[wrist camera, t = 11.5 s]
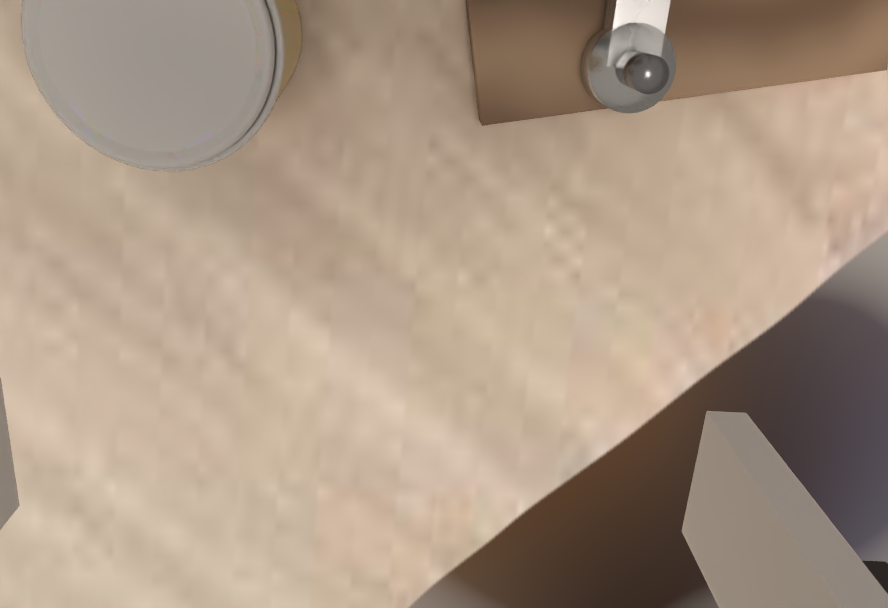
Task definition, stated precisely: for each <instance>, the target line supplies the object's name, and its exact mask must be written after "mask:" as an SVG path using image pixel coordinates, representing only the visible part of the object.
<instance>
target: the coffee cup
mask: <svg viewBox="0 0 888 608" xmlns="http://www.w3.org/2000/svg"><path fill="white" fill-rule="evenodd" d="M21 24H22V39H23V44H24V50H25V54H26V58H27V62H28V65H29V68H30V70H31V73H32V75H33V78H34V80H35V82H36V84H37V86H38V88H39V91H40V92H41V94H42V95H43V97H44V98H45V100H46V101H47V103H48V104H49V106H50V107H51V108H52V110H53V111H54V113H55V114H56V115H57V116H58V117H59V119H60V120H61V121H62V122H63V123H64V124H65V125H66V126H67V127H68V128H69V129H70V130H71V131H72V132H73V133H74V134H75V135H76V136H77V137H79V138H80V139H81V140H83V141H84V142H85V143H87V144H88V145H89V146H91V147H92V148H94V149H96V150H97V151H99V152H100V153H102V154H104V155H106V156H108V157H110V158H112V159H114V160H117V161H119V162H122V163H125V164H127V165H131V166H134V167H138V168H142V169H148V170H154V171H184V170H190V169H196V168H200V167H203V166H207V165H210V164H212V163H215V162H217V161H220V160H222V159H223V158H225V157H227V156H229V155H231V154H232V153H234V152H235V151H237V150H238V149H239V148H241V147H242V146H243V145H244V144H245V143H247V142H248V141H249V140H250V139H251V138H252V137H253V136H254V135H255V133H256V132H257V131H258V130H259V129H260V127H261V126H262V125H263V123H264V122H265V120H266V119H267V117H268V115H269V113H270V111H271V110H272V108H273V105H274V103H275V101H276V100H277V98H278V97H279V95H280V94H281V92H282V91H283V89H284V88H285V86H286V85H287V83H288V81H289V80H290V78H291V76H292V74H293V72H294V70H295V68H296V65H297V62H298V59H299V56H300V51H301V42H302V28H301V21H300V16H299V11H298V8H297V5H296V3H295V0H23V1H22V14H21Z"/></svg>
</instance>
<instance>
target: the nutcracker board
mask: <svg viewBox="0 0 888 608" xmlns="http://www.w3.org/2000/svg"><path fill="white" fill-rule="evenodd" d="M606 3H607V0H466V7H467V16H468V25H469V34H470V43H471V51H472V60H473V69H474V78H475V87H476V96H477V105H478V113H479V120H480V122H481V124H482V125H490V124H497V123H504V122H512V121H519V120H526V119H533V118H541V117H548V116H555V115H563V114H570V113H577V112H584V111H592V110H599V109H606V108H608V107H607V106H605V105H603V104H602V103H600V102H599V101H597V100H596V99H595V98H593V97H592V96H591V94H590V93H589V92H588V90H587V89H586V87H585V85H584V83H583V79H582V75H581V60H582V56H583V53H584V50H585V48H586V45H587V44H588V42H589V41H590V39H591V38H592V37H593V36H594V35H595V34H596V33H597V32H598V31H599V30H600V29H602V28H603V23H604V16H605V9H606ZM665 35H666V36H667V37H668V38H669V40H670V42H671V43H672V46H673V48H674V51H675V55H676V73H675V77H674V80H673V82H672V85H671V87H670V89H669V90H668V92H667V93H666V94H665V96H664V97H663V98H662V99H661V100H660V101H665V100H672V99H679V98H686V97H694V96H701V95H708V94H716V93H723V92H730V91H737V90H745V89H752V88H759V87H767V86H774V85H781V84H788V83H796V82H803V81H810V80H818V79H825V78H832V77H839V76H847V75H854V74H861V73H869V72H876V71H883V70H887V67H888V0H671V1H670V7H669V13H668V18H667V24H666V30H665Z"/></svg>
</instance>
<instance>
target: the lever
mask: <svg viewBox="0 0 888 608" xmlns="http://www.w3.org/2000/svg"><path fill="white" fill-rule="evenodd" d="M670 1H671V0H607V3H606V9H605V16H604V23H603V28H602V29H600V30H599V31H598V32H597V33H596V34H595V35H594V36H593V37H592V38H591V39H590V41H589V42H588V44H587V45H586V48H585V50H584V53H583V56H582V60H581V75H582V79H583V83H584V85H585V87H586V89H587V90H588V92H589V93H590V94H591V96H592V97H593V98H595V99H596V100H597V101H599V102H600V103H602V104H603V105H605V106H607V107H608V108H610V109H612V110H614V111H618V112H622V113H636V112H640V111H644V110H646V109H648V108H650V107H652V106H654V105H655V104H656V103H658V102H659V101H660V100H661V99H662V98H663V97H664V96H665V94H666V93H667V92H668V90H669V89H670V87H671V85H672V82H673V80H674V77H675V73H676V55H675V51H674V48H673V46H672V43H671V42H670V40H669V38H668V37H667V36H666V35H665V30H666V24H667V18H668V13H669V7H670Z"/></svg>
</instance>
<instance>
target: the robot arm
mask: <svg viewBox="0 0 888 608" xmlns="http://www.w3.org/2000/svg"><path fill="white" fill-rule="evenodd" d="M18 507H19V499H18V492H17V485H16V478H15V472H14V465H13V458H12V451H11V445H10V438H9V431H8V424H7V418H6V411H5V404H4V397H3V390H2V384H1V378H0V530H1V528H2V527H3V526H4V524H5V523H6V522H7V521H8V519H9V518H10V517H11V516H12V514H13V513H14V512H15V511H16V509H17V508H18ZM682 533H683V535H684V537H685V539H686V541H687V543H688V545H689V547H690V549H691V551H692V553H693V555H694V557H695V559H696V561H697V563H698V565H699V568H700V570H701V571H702V574H703V576H704V578H705V580H706V582H707V584H708V586H709V588H710V590H711V592H712V594H713V596H714V598H715V600H716V602H717V604H718V606H719V608H888V564H887V563H886V562H878V561H861V559H860V558H859V557H858V556H857V554H856V553H855V552H854V550H853V549H852V548H851V547H850V545H849V544H848V543H847V541H846V540H845V539H844V538H843V536H842V535H841V534H840V533H839V532H838V530H837V529H836V527H835V526H834V525H833V523H832V522H831V521H830V520H829V518H828V517H827V516H826V515H825V513H824V512H823V511H822V510H821V508H820V507H819V506H818V504H817V503H816V502H815V500H814V499H813V498H812V497H811V496H810V494H809V493H808V491H807V490H806V489H805V488H804V486H803V485H802V484H801V483H800V481H799V480H798V479H797V477H796V476H795V475H794V474H793V472H792V471H791V470H790V468H789V467H788V466H787V465H786V463H785V462H784V461H783V459H782V458H781V457H780V456H779V454H778V453H777V452H776V451H775V449H774V448H773V447H772V445H771V444H770V443H769V442H768V440H767V439H766V438H765V436H764V435H763V434H762V433H761V431H760V430H759V429H758V427H757V426H756V425H755V424H754V422H753V421H752V420H751V419H750V417H749V416H748V415H747V413H736V412H735V413H734V412H715V411H707V413H706V417H705V422H704V427H703V432H702V436H701V441H700V446H699V451H698V456H697V461H696V465H695V470H694V475H693V480H692V485H691V489H690V494H689V499H688V503H687V508H686V513H685V518H684V523H683V527H682Z"/></svg>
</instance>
